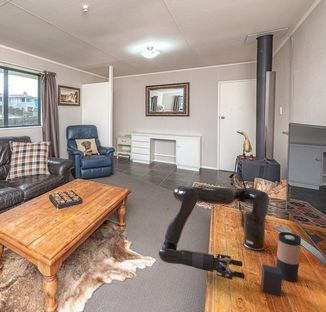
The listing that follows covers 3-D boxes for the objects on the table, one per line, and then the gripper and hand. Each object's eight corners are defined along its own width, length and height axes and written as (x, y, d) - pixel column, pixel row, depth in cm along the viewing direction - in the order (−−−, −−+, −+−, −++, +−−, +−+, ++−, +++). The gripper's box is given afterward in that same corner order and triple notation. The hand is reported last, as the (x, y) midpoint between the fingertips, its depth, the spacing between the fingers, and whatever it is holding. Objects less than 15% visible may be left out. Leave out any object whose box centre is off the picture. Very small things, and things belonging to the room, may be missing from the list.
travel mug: (277, 268, 110) (279, 230, 107) (298, 275, 105) (302, 235, 101) (274, 277, 105) (277, 236, 101) (296, 284, 99) (300, 242, 96)
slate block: (261, 284, 101) (262, 264, 99) (278, 288, 98) (279, 267, 96) (262, 291, 97) (264, 270, 95) (280, 296, 94) (282, 274, 92)
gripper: (201, 262, 102) (245, 272, 94) (203, 246, 114) (242, 253, 107) (201, 277, 103) (244, 288, 95) (203, 259, 116) (241, 267, 108)
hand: (243, 269), depth 101 cm, fingers open, 8 cm apart
